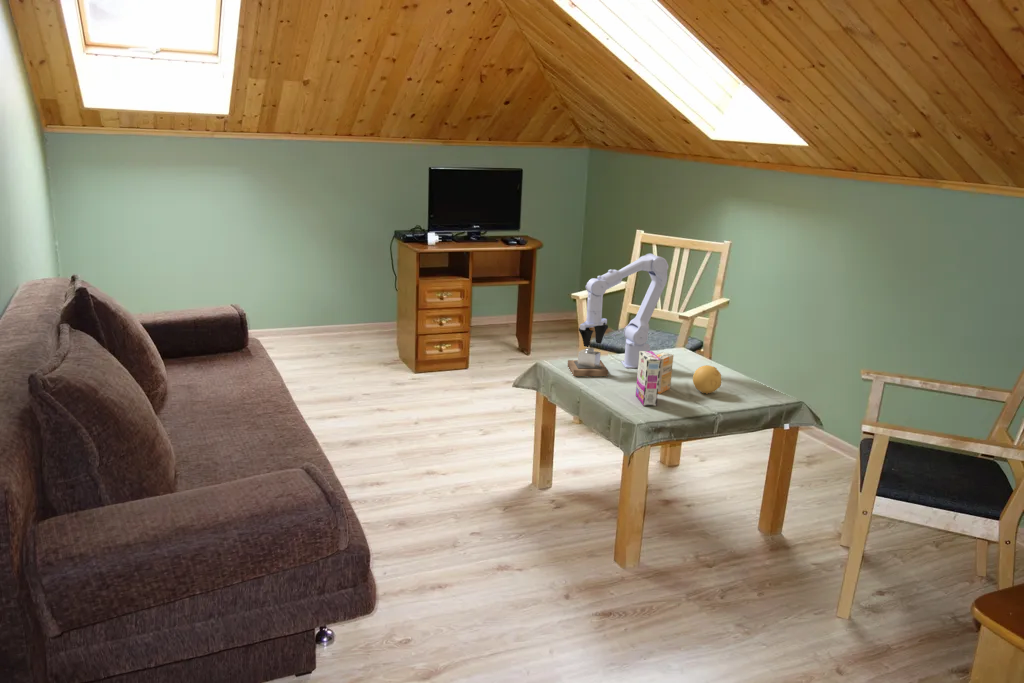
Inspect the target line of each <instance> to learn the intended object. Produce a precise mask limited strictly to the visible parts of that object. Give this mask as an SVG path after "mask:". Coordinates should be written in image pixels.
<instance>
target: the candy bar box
mask: <svg viewBox="0 0 1024 683" xmlns="http://www.w3.org/2000/svg"><path fill="white" fill-rule="evenodd" d="M656 355H657V354H656V353H655V352H654V351H653V350H652V351H651V350H650V351H639V363H638V368H637V376H636V387H635V397H636V398H637V400H639V402H640V403H641V404H642V406H644V407H658V406H657V404H658V396H659V394H658V385H659V376H660V365H661V360H660V359H659V358H658V357H657V356H656Z"/></svg>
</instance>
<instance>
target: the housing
mask: <svg viewBox="0 0 1024 683" xmlns="http://www.w3.org/2000/svg"><path fill="white" fill-rule="evenodd" d="M577 354H578V355H577V356H578V357H577V360H578V361H577V363H578V365H583V366H588V367H593V368H595V367H601V364H600V360H601V352H600V351H595V348H593V347H585V349H584V348H583V349H581V350H578V352H577Z"/></svg>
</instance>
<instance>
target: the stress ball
mask: <svg viewBox="0 0 1024 683" xmlns="http://www.w3.org/2000/svg"><path fill="white" fill-rule="evenodd" d="M692 383H693V385H694V387H695V388H696V390H698V391H699V392H701V393H702V392H703V393H702V394H704V393H706V395H709V394H712V393H714V392H716V391H717V390H718V389H719V388H720V387H721V385H722V374H721V372H720V371H719V370H718V369H717V367H715V366H712V365H702V366H700V367H698V368H697V369H696V370H695V371H694V373H693V376H692ZM708 393H709V394H708Z"/></svg>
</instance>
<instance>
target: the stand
mask: <svg viewBox="0 0 1024 683" xmlns="http://www.w3.org/2000/svg"><path fill="white" fill-rule="evenodd" d="M577 361H578V359H575V360H574V359H572V360H571V359H568V360H567V368H568V367H569V368H568V370H569V369H570V370H569V371H570V373H571V372H572V373H571V375H572V374H573V375H572V376H588V377H587V378H591V377H592V376H609V369H608V368H607V366H605V364H604V363H603V361H602V360H601V359H600V364H601V367H595V368H593V367H588V366H583V365H578V363H577ZM589 376H591V377H589Z"/></svg>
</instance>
